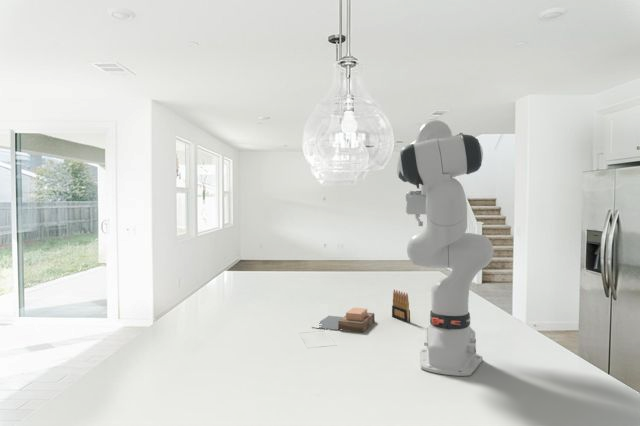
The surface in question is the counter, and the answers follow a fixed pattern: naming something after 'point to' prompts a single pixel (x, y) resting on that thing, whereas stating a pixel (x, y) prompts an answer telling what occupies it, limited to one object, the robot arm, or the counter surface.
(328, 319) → the mat
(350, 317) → the tile
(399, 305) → the ammunition clip
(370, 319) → the deck
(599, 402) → the counter surface
